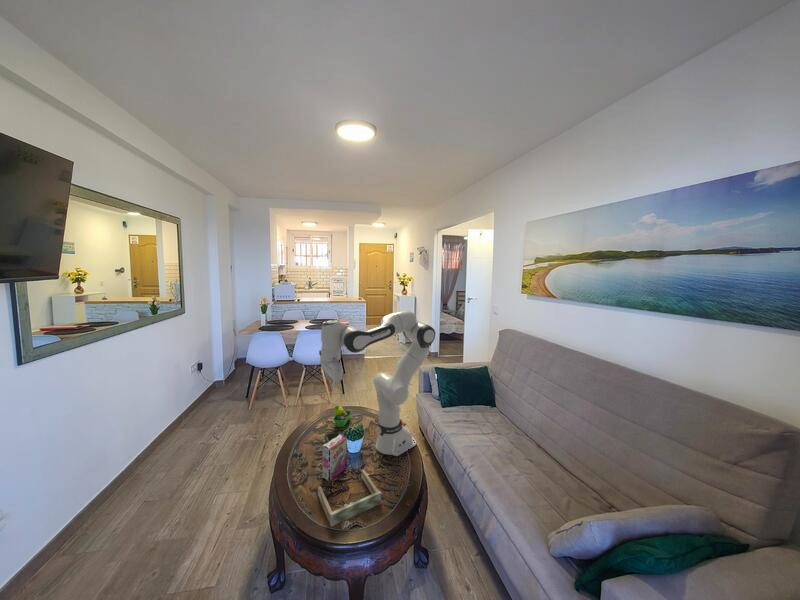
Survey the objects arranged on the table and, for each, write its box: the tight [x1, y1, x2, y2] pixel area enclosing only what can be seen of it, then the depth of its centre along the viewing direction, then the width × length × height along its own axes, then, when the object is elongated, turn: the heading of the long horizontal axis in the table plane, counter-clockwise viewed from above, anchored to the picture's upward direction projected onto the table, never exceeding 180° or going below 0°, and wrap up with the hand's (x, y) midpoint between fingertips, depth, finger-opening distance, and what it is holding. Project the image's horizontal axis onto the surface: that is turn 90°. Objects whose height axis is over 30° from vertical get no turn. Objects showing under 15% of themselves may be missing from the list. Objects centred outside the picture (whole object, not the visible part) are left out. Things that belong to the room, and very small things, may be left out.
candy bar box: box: [321, 434, 348, 483], centre depth 139 cm, size 11×5×16 cm, turn 146°
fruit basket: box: [332, 404, 352, 428], centre depth 181 cm, size 11×9×11 cm
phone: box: [324, 431, 340, 443], centre depth 163 cm, size 8×1×15 cm
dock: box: [317, 469, 382, 527], centre depth 125 cm, size 21×17×5 cm
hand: (331, 383), depth 140 cm, fingers open, 8 cm apart
